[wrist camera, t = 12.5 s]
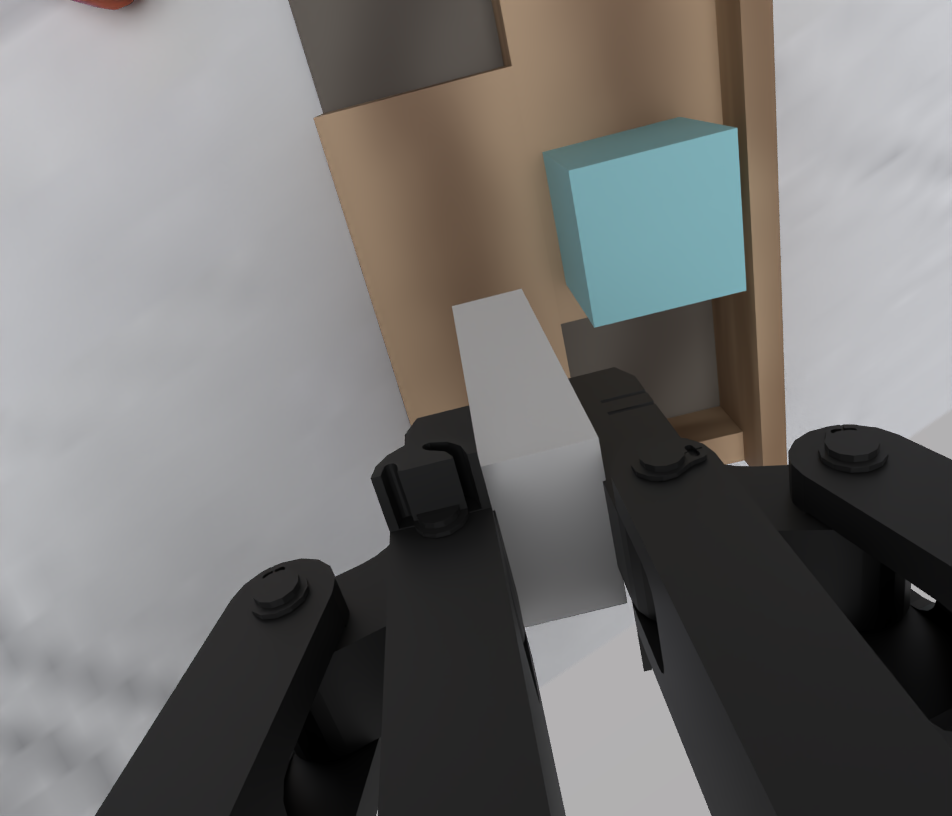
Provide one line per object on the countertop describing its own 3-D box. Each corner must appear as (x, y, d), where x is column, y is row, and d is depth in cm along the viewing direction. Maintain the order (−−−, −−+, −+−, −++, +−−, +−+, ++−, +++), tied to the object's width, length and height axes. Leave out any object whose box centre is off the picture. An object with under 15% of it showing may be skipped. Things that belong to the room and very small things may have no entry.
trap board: (442, 493, 34) (445, 557, 30) (152, -444, 20) (72, -597, 15) (739, 424, 34) (787, 478, 29) (671, -602, 19) (747, -809, 14)
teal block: (566, 284, 27) (594, 327, 22) (542, 151, 25) (568, 170, 20) (692, 253, 27) (746, 290, 22) (679, 116, 24) (737, 127, 20)
